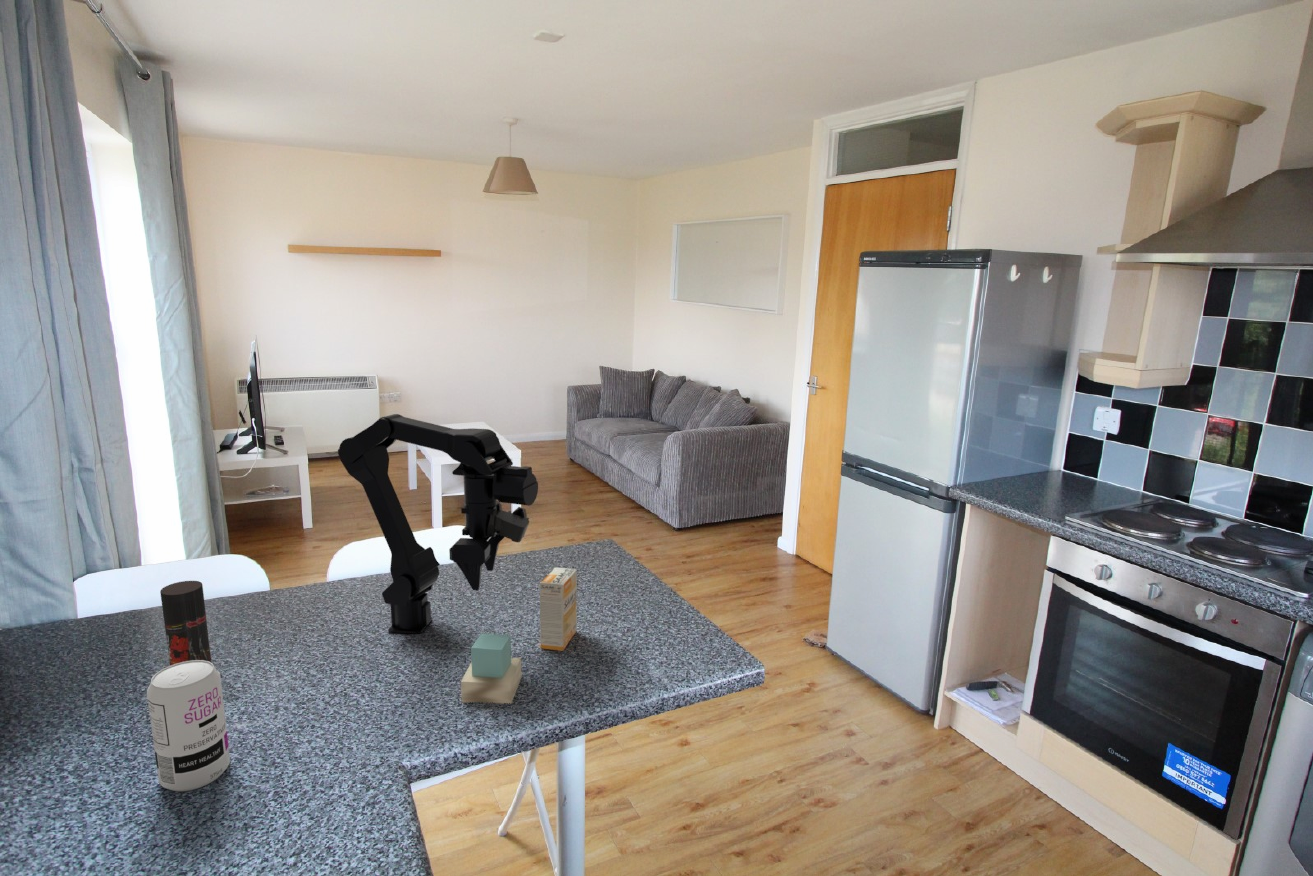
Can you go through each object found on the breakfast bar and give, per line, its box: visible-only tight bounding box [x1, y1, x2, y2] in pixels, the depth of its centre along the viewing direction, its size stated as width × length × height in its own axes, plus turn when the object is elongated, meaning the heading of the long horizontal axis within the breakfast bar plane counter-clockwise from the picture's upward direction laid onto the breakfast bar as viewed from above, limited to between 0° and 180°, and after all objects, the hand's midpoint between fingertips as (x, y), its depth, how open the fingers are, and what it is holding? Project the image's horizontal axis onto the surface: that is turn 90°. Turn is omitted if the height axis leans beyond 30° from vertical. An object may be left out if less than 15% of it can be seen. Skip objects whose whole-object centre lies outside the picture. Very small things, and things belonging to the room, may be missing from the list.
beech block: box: [460, 657, 522, 705], centre depth 120 cm, size 8×8×4 cm
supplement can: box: [146, 660, 231, 792], centre depth 97 cm, size 8×8×15 cm
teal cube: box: [470, 633, 512, 678], centre depth 119 cm, size 5×5×5 cm
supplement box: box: [539, 567, 578, 652], centre depth 136 cm, size 8×5×13 cm, turn 168°
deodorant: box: [160, 580, 212, 666], centre depth 123 cm, size 6×6×15 cm
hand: (483, 579), depth 134 cm, fingers open, 9 cm apart
